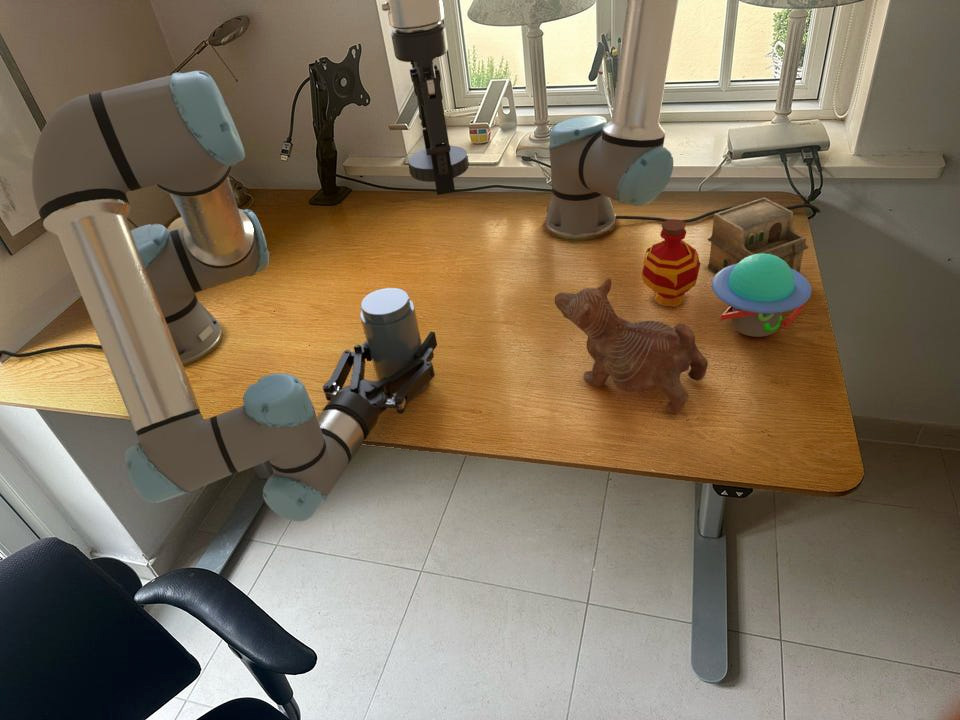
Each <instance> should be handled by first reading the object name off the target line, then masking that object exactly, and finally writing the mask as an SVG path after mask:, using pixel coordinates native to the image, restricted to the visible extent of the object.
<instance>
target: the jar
mask: <svg viewBox="0 0 960 720" xmlns="http://www.w3.org/2000/svg"><path fill="white" fill-rule="evenodd" d="M360 309H361V310H360V313H359V317H360V322H361V326H362V328H363V332H364V336H365V341H366V340H367V344H368V348H369V351H370V355H371V359H372V360H371V362H372V366H373V368H374V372H375V373H374V374H375V377H376V380H377V381H379V380H381V379H382V378H384V377H386V378H388V377H390V376H391V375H393V374H394V373H396V372H397V371H399V370H400V369H402V368H404V367H405V366H407V365H408V364H410V363H411V362H413V361H414V360H415V357H414V355H415V354H416V352H417V351H418V349H419V348H420V346H421V345H422V343H423V341H422V337H421V333H420V332H421V331H420V328H419V321H418V317H417V313H416V308H415V304H414V302H413V301H412V300H411V298H410V295H409V294H408V292H407V291H405V290H404V289H401V288H397V287H384V288H380V289H376V290H373V291H371V292H370V293H368V294H367V295H365V296H364V298H363V299H361V302H360ZM377 381H376V382H377ZM427 386H428V384H427V385H426V386H425V387H424V388H423V389H422V390H421V391H420V392H419V393H418V394H420V393H421V392H423V391H424V390H425V389H426V388H427ZM384 390H385V388H384ZM397 392H398V391H397ZM397 392H396V393H397Z"/></svg>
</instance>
